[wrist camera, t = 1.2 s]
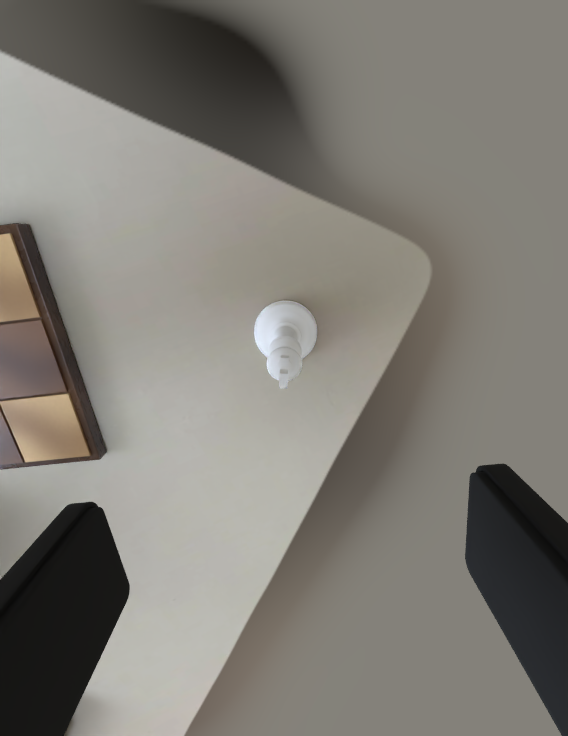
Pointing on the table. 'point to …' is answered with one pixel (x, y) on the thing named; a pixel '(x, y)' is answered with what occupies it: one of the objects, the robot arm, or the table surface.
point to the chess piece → (285, 338)
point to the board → (38, 367)
